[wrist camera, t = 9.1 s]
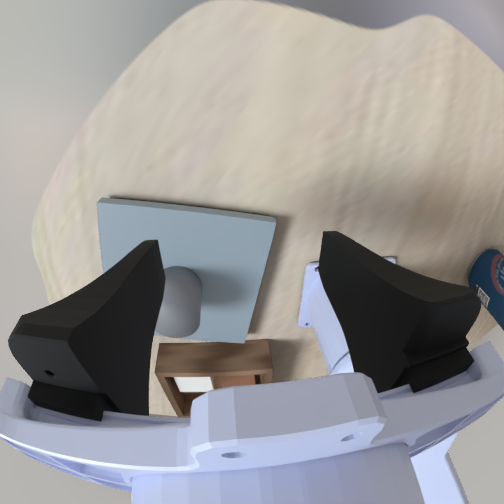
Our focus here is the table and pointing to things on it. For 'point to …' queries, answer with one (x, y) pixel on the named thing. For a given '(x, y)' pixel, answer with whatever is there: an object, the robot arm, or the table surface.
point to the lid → (194, 262)
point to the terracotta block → (238, 380)
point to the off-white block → (194, 384)
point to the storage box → (209, 366)
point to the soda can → (489, 282)
